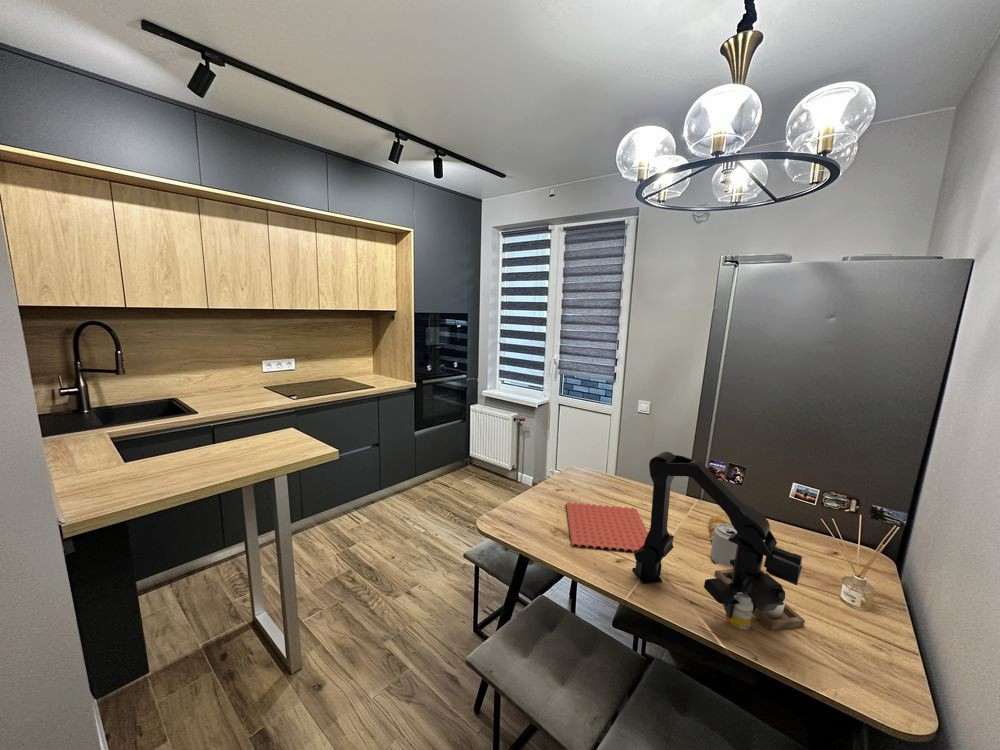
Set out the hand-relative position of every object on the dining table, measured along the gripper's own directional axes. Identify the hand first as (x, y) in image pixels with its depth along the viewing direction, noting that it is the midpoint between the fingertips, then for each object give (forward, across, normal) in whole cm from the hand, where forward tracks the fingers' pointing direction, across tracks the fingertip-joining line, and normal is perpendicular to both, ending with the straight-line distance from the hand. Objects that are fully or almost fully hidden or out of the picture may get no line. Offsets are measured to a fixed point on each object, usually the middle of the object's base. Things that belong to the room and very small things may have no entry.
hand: (738, 616), depth 100 cm
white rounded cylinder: (+1, +11, +1) cm, 11 cm away
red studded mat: (+3, -15, +46) cm, 48 cm away
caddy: (+2, +11, +6) cm, 13 cm away
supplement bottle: (+3, 0, 0) cm, 3 cm away
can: (+3, +15, +23) cm, 28 cm away
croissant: (+3, +27, +38) cm, 47 cm away
